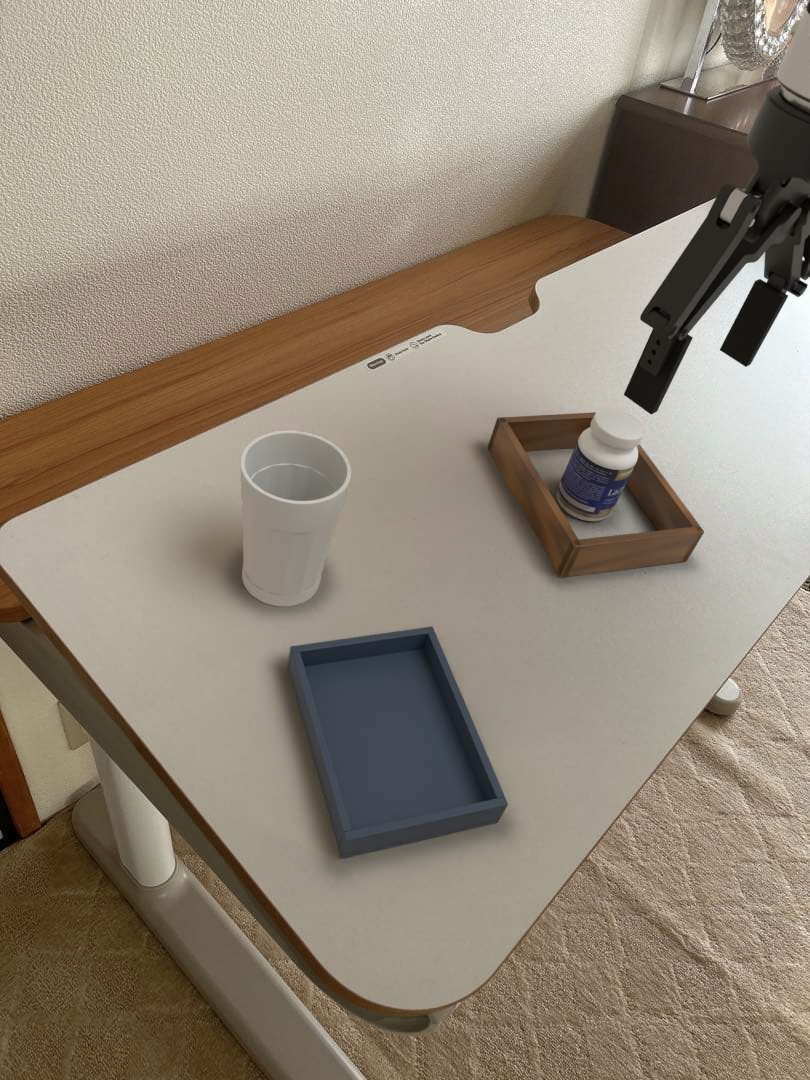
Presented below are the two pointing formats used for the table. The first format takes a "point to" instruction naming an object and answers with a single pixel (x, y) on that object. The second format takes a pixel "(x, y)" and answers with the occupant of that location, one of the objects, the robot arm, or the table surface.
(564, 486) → the pill bottle
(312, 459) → the cup
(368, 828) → the tray
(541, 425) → the wooden frame
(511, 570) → the table surface
